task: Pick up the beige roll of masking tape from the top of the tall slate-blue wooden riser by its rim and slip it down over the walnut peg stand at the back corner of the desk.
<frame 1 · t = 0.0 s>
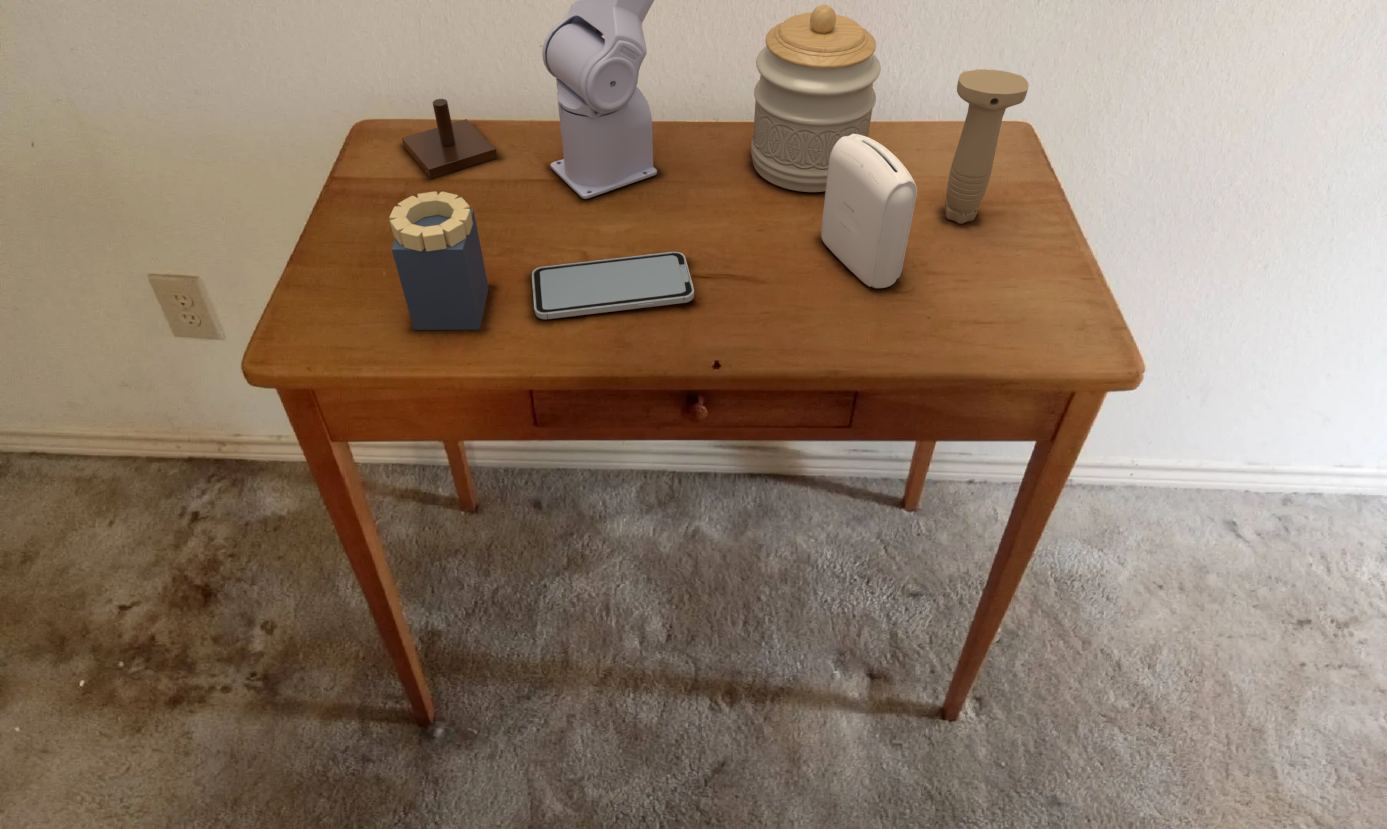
riser: (452, 308, 86), on the table
photo printer: (858, 261, 92), on the table
stand: (450, 152, 105), on the table
handle: (958, 218, 97), on the table
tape: (433, 228, 79), point 9 cm above the table, touching riser
smartphone: (612, 290, 88), on the table
jar: (806, 165, 104), on the table
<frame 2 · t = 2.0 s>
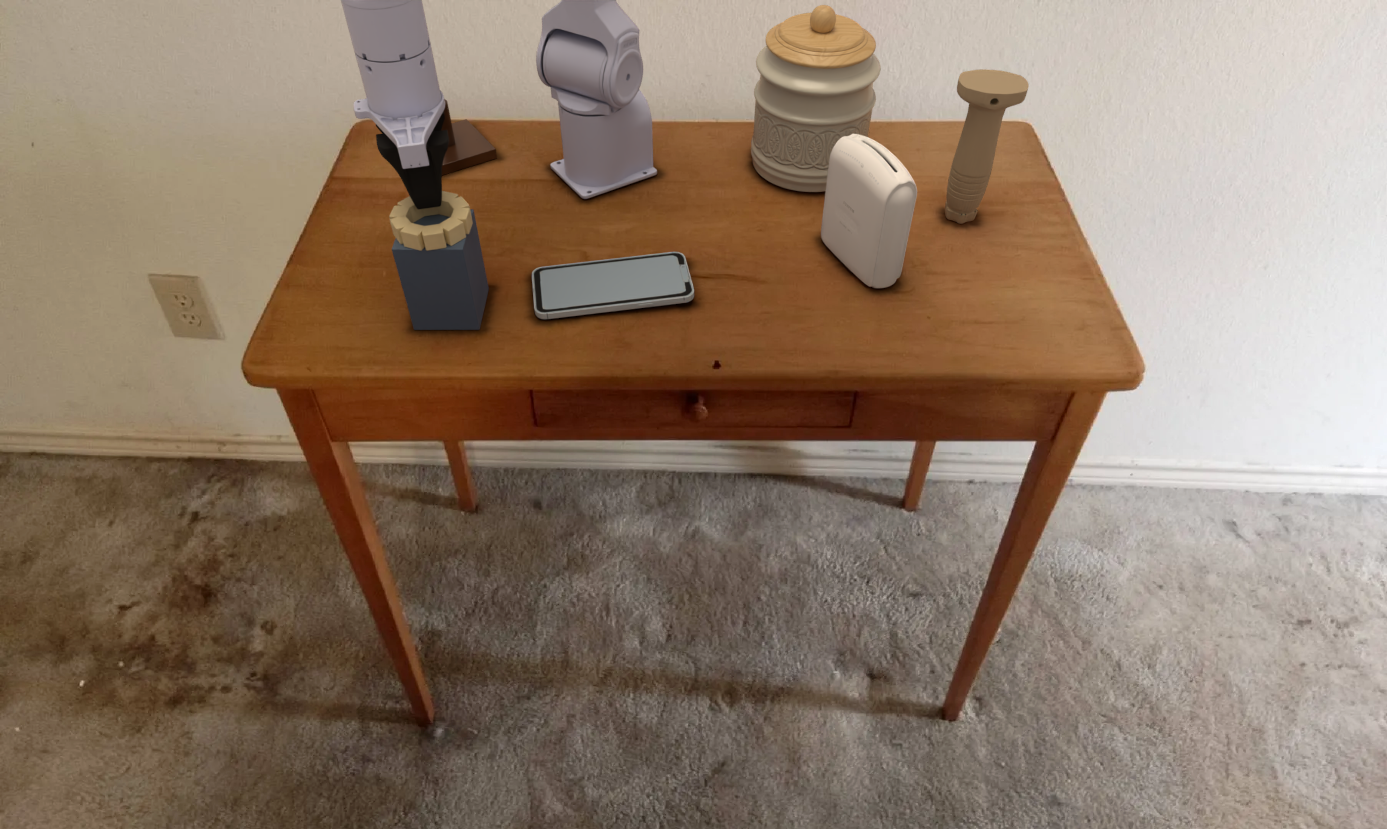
hand: (427, 198, 80), 10 cm above the table, tool pointing down, fingers closed on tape, 2 cm apart
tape: (433, 227, 80), point 9 cm above the table, touching gripper, riser
everything else where it was.
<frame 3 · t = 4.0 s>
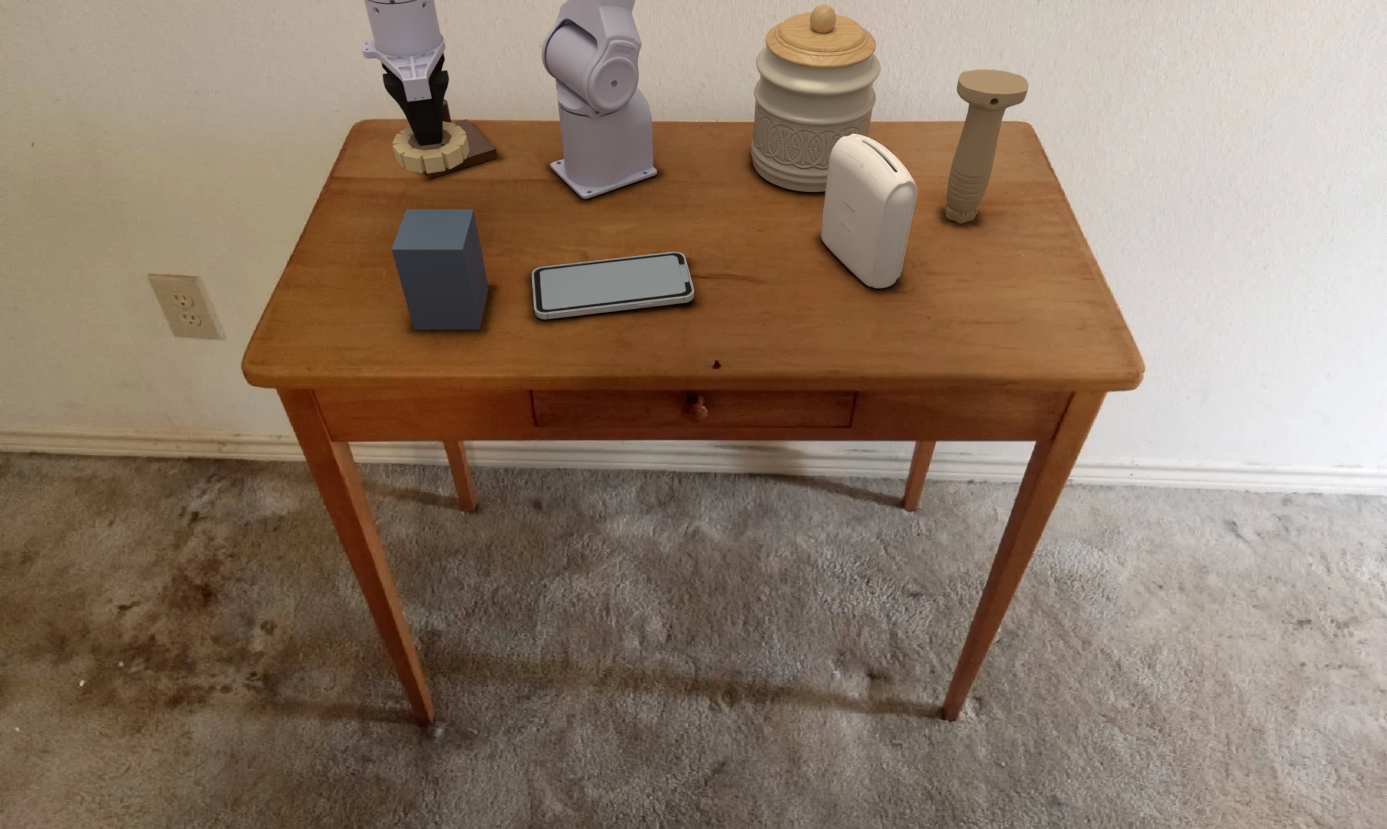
hand: (429, 136, 88), 10 cm above the table, tool pointing down, fingers closed on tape, 2 cm apart
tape: (433, 154, 86), point 10 cm above the table, touching gripper
everything else where it was.
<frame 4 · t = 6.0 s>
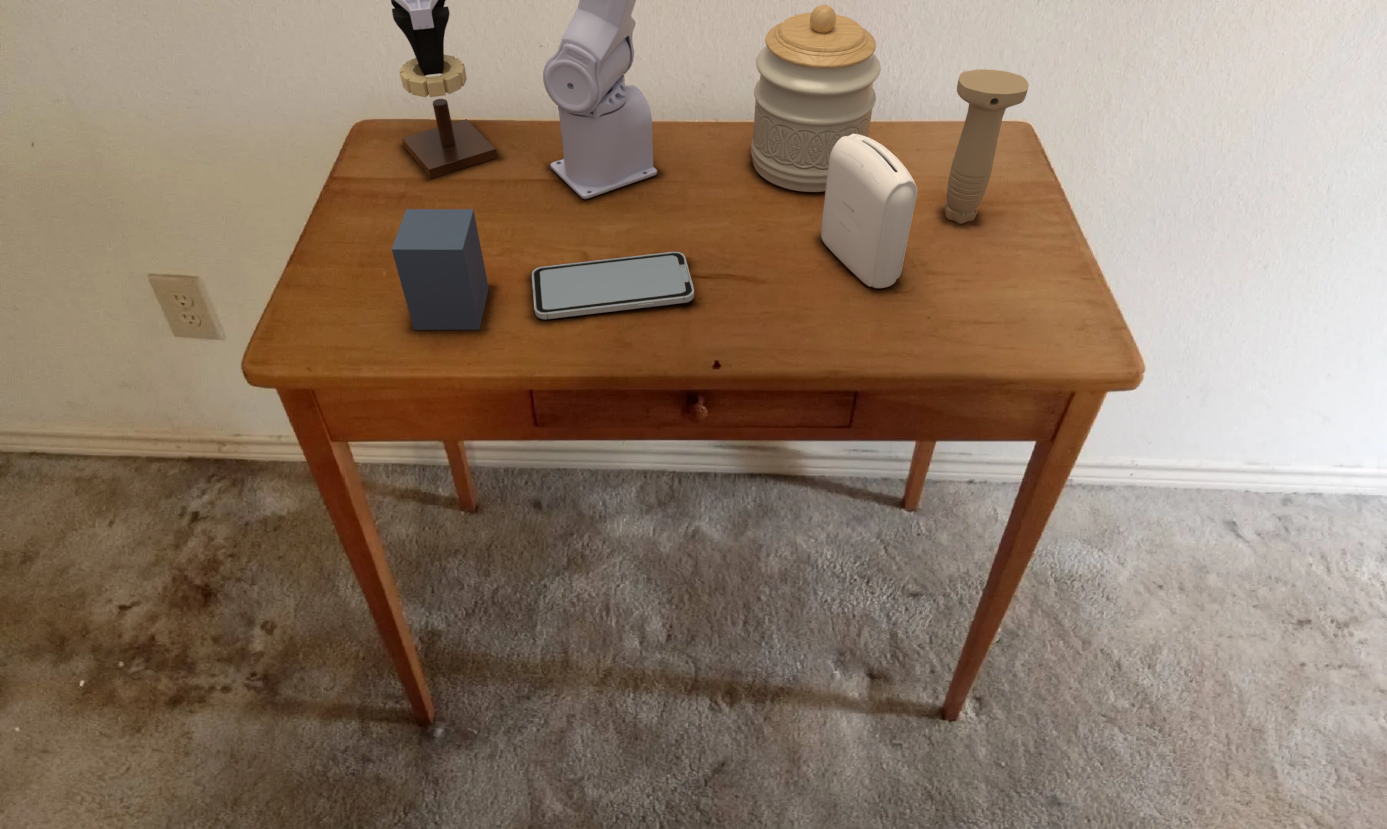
hand: (432, 67, 100), 9 cm above the table, tool pointing down, fingers closed on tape, 2 cm apart
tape: (435, 82, 99), point 9 cm above the table, touching gripper
everything else where it was.
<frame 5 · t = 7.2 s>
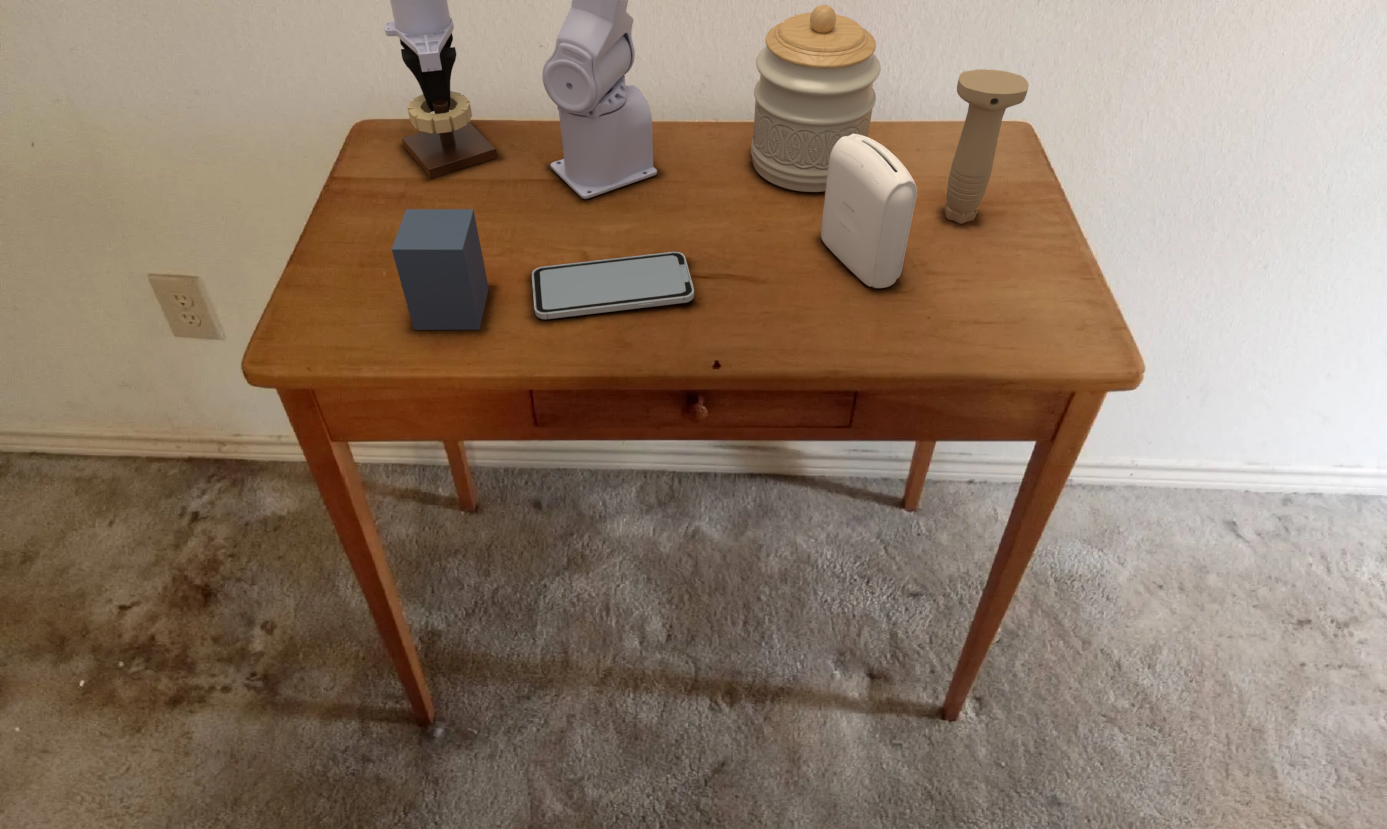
hand: (439, 103, 104), 5 cm above the table, tool pointing down, fingers closed on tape, 2 cm apart
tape: (441, 118, 102), point 4 cm above the table, touching gripper
everything else where it was.
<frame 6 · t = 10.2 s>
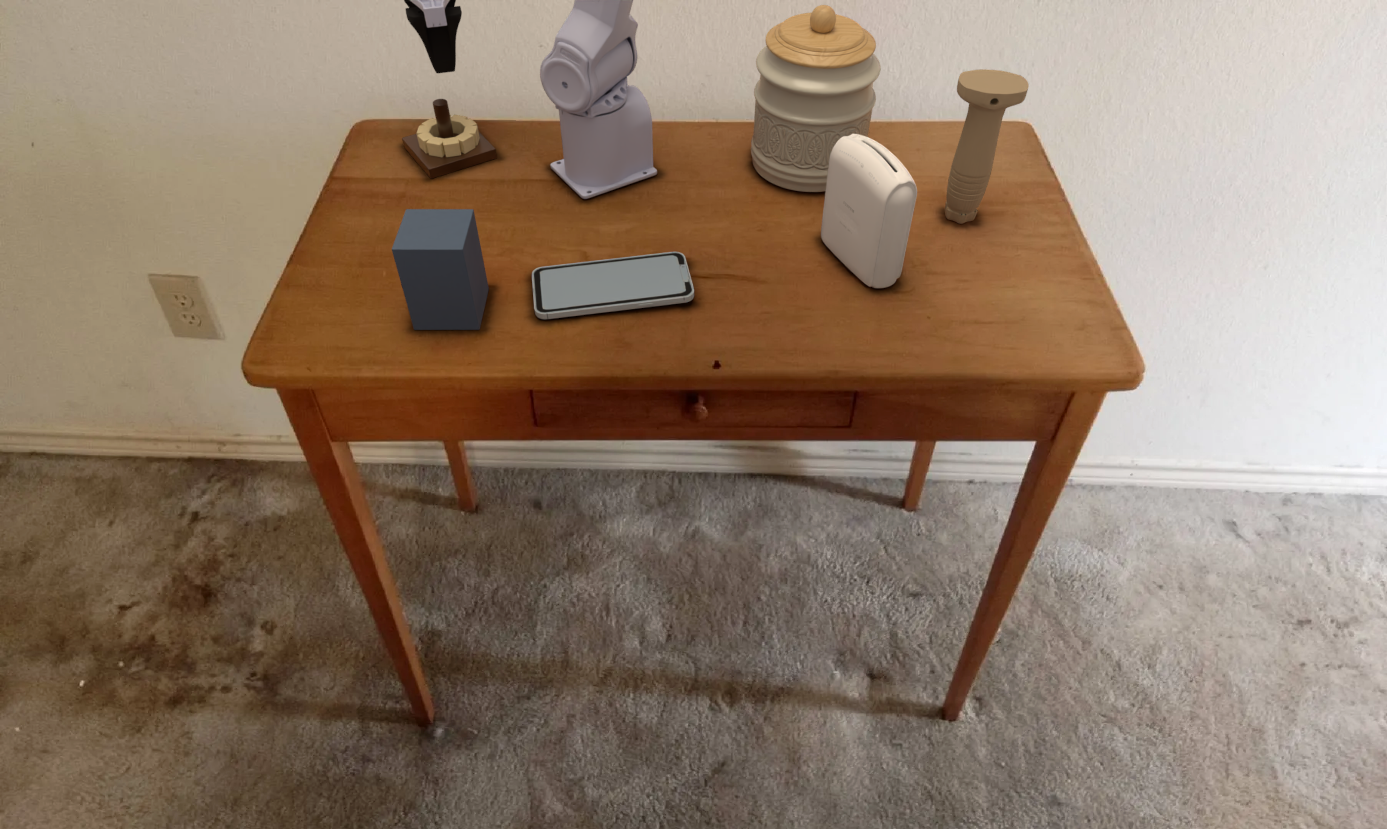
hand: (444, 64, 102), 8 cm above the table, tool pointing down, fingers closed
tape: (449, 141, 105), point 1 cm above the table, touching stand
everything else where it was.
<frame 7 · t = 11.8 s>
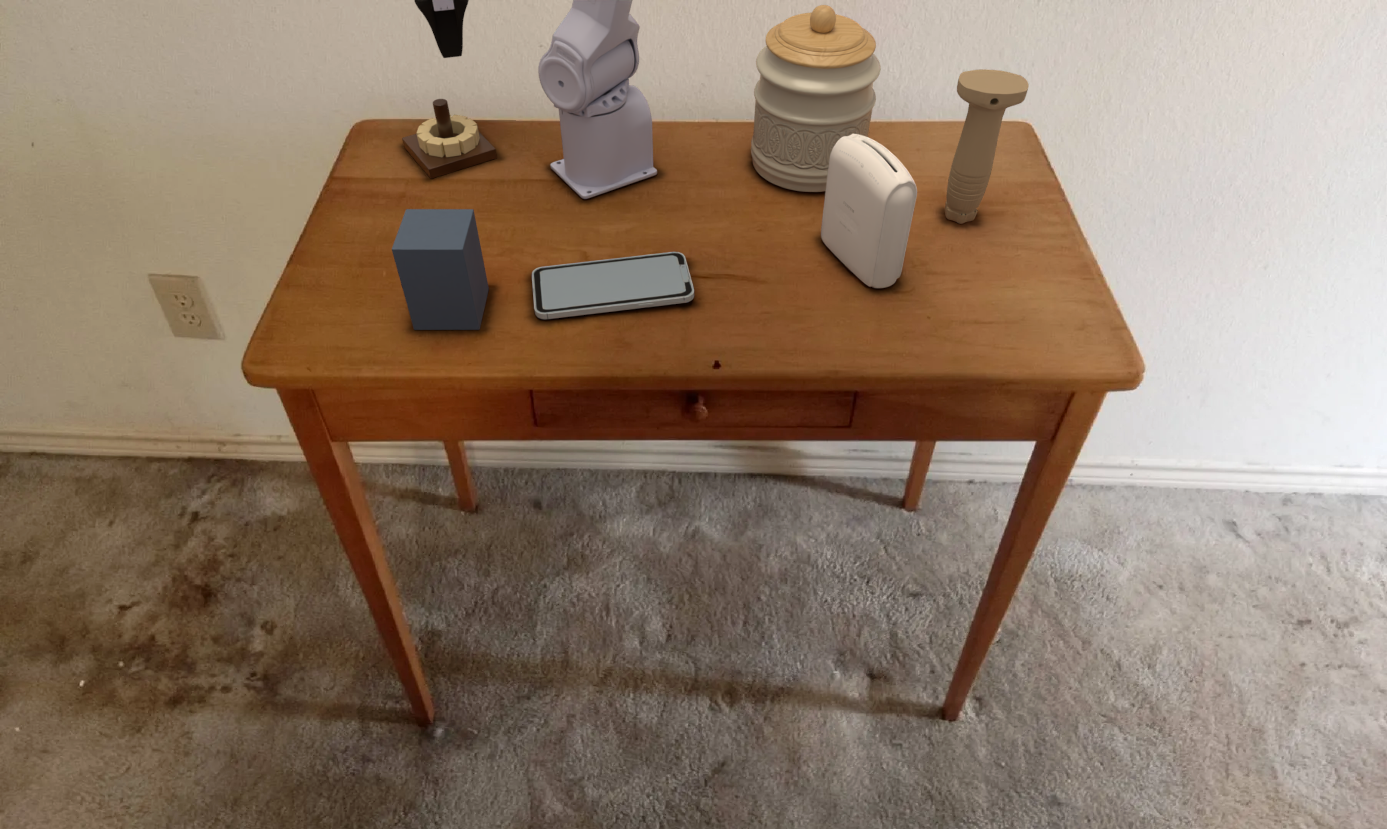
hand: (451, 49, 103), 9 cm above the table, tool pointing down, fingers closed
nothing on the table moved.
at the end: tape 0.3 cm off-centre on the stand, point 1.2 cm above the stand's base; the gripper is holding nothing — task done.
